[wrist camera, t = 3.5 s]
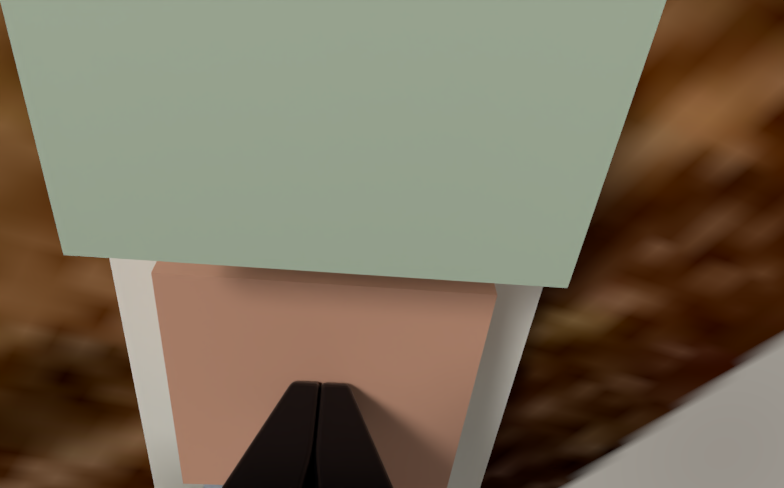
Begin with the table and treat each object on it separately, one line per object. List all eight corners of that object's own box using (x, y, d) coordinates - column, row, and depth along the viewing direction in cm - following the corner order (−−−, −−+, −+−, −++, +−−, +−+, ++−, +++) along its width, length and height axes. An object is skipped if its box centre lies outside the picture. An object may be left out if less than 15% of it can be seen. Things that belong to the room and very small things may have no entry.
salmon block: (238, 292, 14) (182, 483, 10) (229, 114, 12) (151, 272, 8) (424, 303, 14) (445, 493, 10) (454, 133, 12) (497, 295, 8)
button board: (188, 469, 18) (166, 547, 16) (58, -454, 8) (-50, -550, 6) (449, 479, 19) (458, 556, 17) (669, -358, 8) (762, -414, 6)
